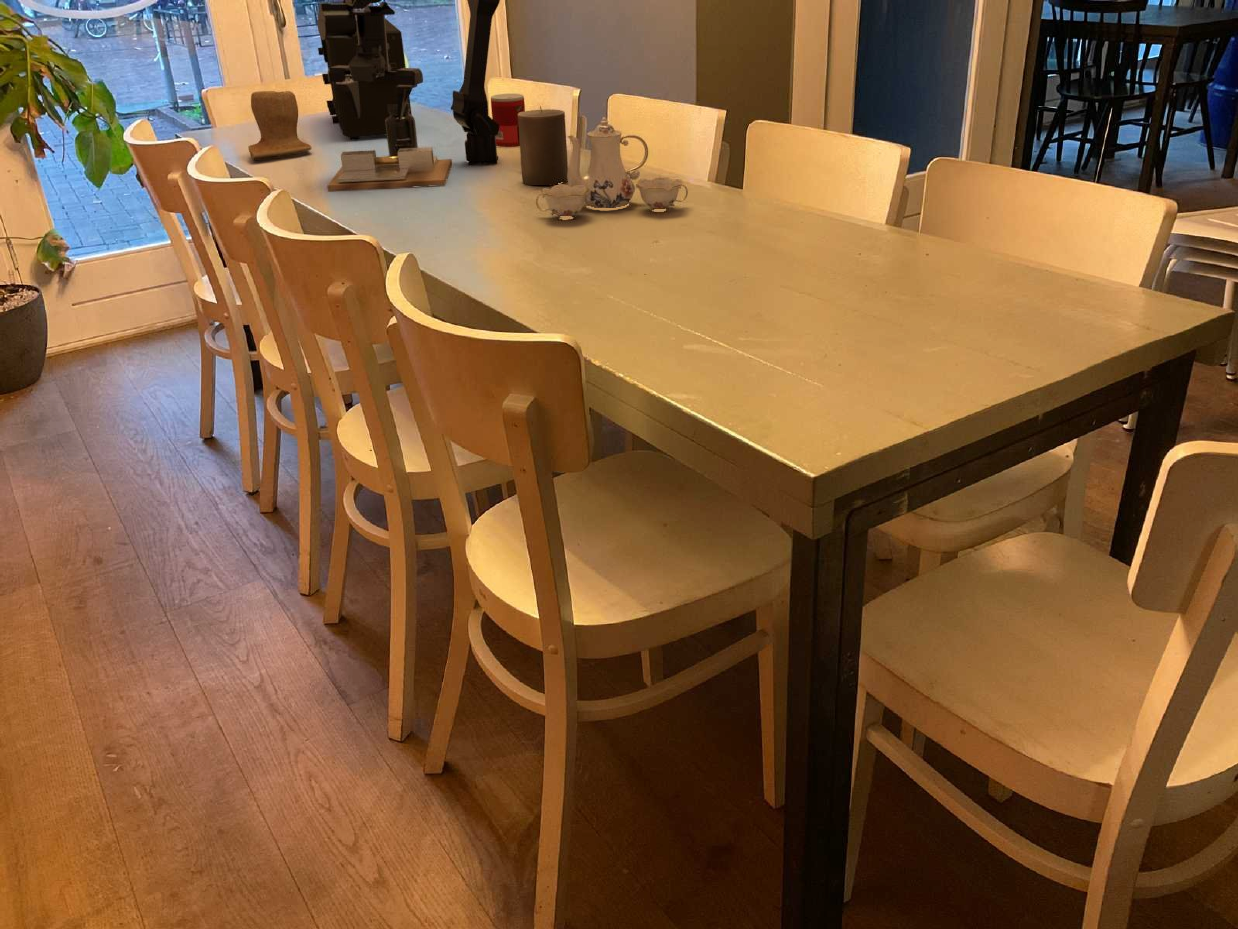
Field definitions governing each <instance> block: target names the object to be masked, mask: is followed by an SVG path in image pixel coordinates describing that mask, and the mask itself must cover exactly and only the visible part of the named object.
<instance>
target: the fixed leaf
mask: <svg viewBox="0 0 1238 929" xmlns="http://www.w3.org/2000/svg"><path fill="white" fill-rule="evenodd" d="M433 150H434V149H433V146H427V147H424V146H423V147H418V148H403V149H399V150H398V160H399V164H386V165H378V170H382V169H403V168H409V173H415V172H433V171H434V168H435V166H436V164H437V161H438V160H439V159H438V156H437V155H434V151H433Z"/></svg>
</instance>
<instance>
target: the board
mask: <svg viewBox="0 0 1238 929" xmlns="http://www.w3.org/2000/svg"><path fill="white" fill-rule="evenodd" d="M452 166H453V160H452V158H449V159H448V158H446V159H438V161H437V164H436V166H435V168H434V171H433V172H415V173H408V175H407V177H406V179H399V180H378V181H357V182H337V178H338V177H339V176H340V174H341V173H342V172H343V168H342V166H341V167H340V168H339V170H338V171H337V173H336V174H335V175H334V176H333V177H332V179H331V180H330V181H329V183H328V184H327V191H328V192H340V191H341V192H344V191H363V189H367V190H383V189H384V190H385V189H399V188H398V187H408V188H414V187H413V186H428V187H430V186H429V185H445V186H446V183H445V182H447V180H448V178H447V177H449V174H450V172H451V169H450V168H452ZM449 171H450V172H449ZM446 179H447V180H446Z"/></svg>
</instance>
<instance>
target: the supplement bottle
mask: <svg viewBox="0 0 1238 929" xmlns="http://www.w3.org/2000/svg"><path fill="white" fill-rule="evenodd" d="M409 111H410V109H409V103H408V102H407V103H406V107H405V110H404V113H403V117H402V119H401V120H398V114H397V102H391V103H388V112H389V115H388V116H387V117H386V119H385V126H386V134H387V135H386V140H387V148H388V150H387V151H388V157H390V156H398V150H399V149H403V148H419V146H418V136H417V128H416V126H417V125H416V120H415V117H414V116H413V115H411V114H409Z"/></svg>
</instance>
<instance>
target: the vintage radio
mask: <svg viewBox="0 0 1238 929" xmlns="http://www.w3.org/2000/svg"><path fill="white" fill-rule="evenodd" d="M356 23H357V21H356ZM385 25H386V38H387V44H389V49H387V50H388V63H389V65H391V70H389V71H396V70H398V69H402V68H407V67H406V61H405V60H406V59H405V52H404V51H405V50H404V42H403V35H402V31H401V30H400V29H398V27H396V26H395V25H394V24H392V23H391V21H389V20H388V19H386V18H385ZM320 43H321V47H317V51H318V56H323V60H324V62H325V64H326V63H327V71H328V70H329V68H330V67H334V66H338V65H342V66H349V63H350V62H351V60H352V59H353V57H355V56H356V48H357V47H356V45H359V44H358V32H357V31H356V34H355V35H353V36H352V38H351V39H349V40H322V39H321V38H320ZM321 75H322V80H323V84H324V85H330V87H331V93H332V99H331V100H330V99H329V100H326V107H327V108H328V109H327V110H328V112H329V116H331V119H332V124H336V125H337V124H339V127H340V128H339V129H340V131H341V133H342V135H343V136H345V137H346V138H348V139H349V140H350V141H355V140H360V138H363V137H364V138H365V137H375V136H387V134H386V126H385V119H386V117H387V116H388V115H389V112H388V103H391V102H397V92H396V89H395V87H396V86H399V84H398V83H397V82H396V81H389V80H374V81H371V82H367V81H365V80H358V88H359V100H360V118H356V116H355V113H354V111H353V109H352V107H351V104H350V102H349V100H348V98H347V96H346V94H345V93H344V91H343V90H342V89H341V88H340V87H336V86H335V84H336V82H328V73H322V74H321ZM407 102H408V103H409V109H410V111H409V114H411V115H412V107H411V97H410V96H409V98H408V100H407ZM412 116H413V115H412Z"/></svg>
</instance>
